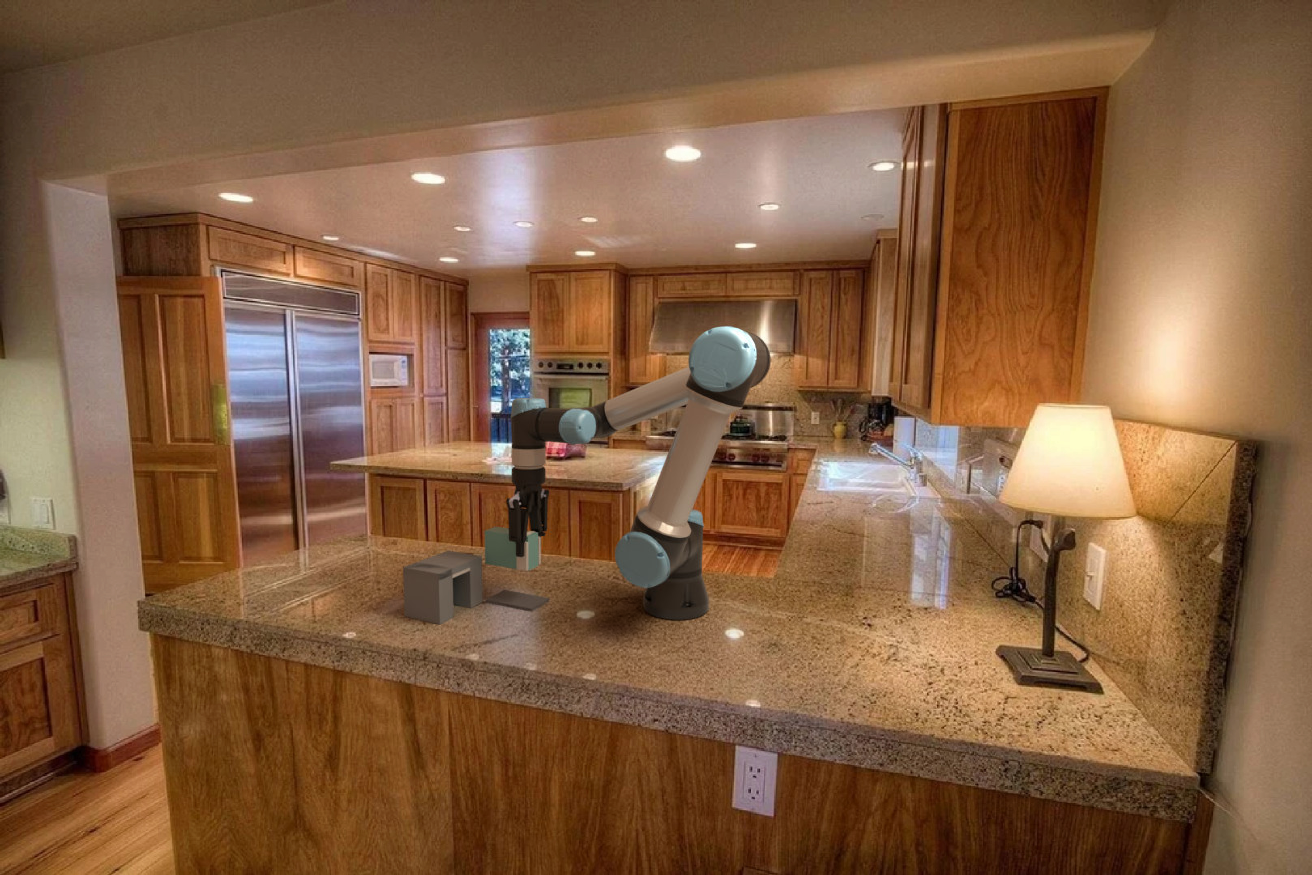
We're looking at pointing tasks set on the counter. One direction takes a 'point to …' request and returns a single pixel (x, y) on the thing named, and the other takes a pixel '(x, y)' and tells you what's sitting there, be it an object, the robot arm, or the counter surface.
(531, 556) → the banded gift box
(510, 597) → the pad
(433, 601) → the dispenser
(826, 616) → the counter surface
